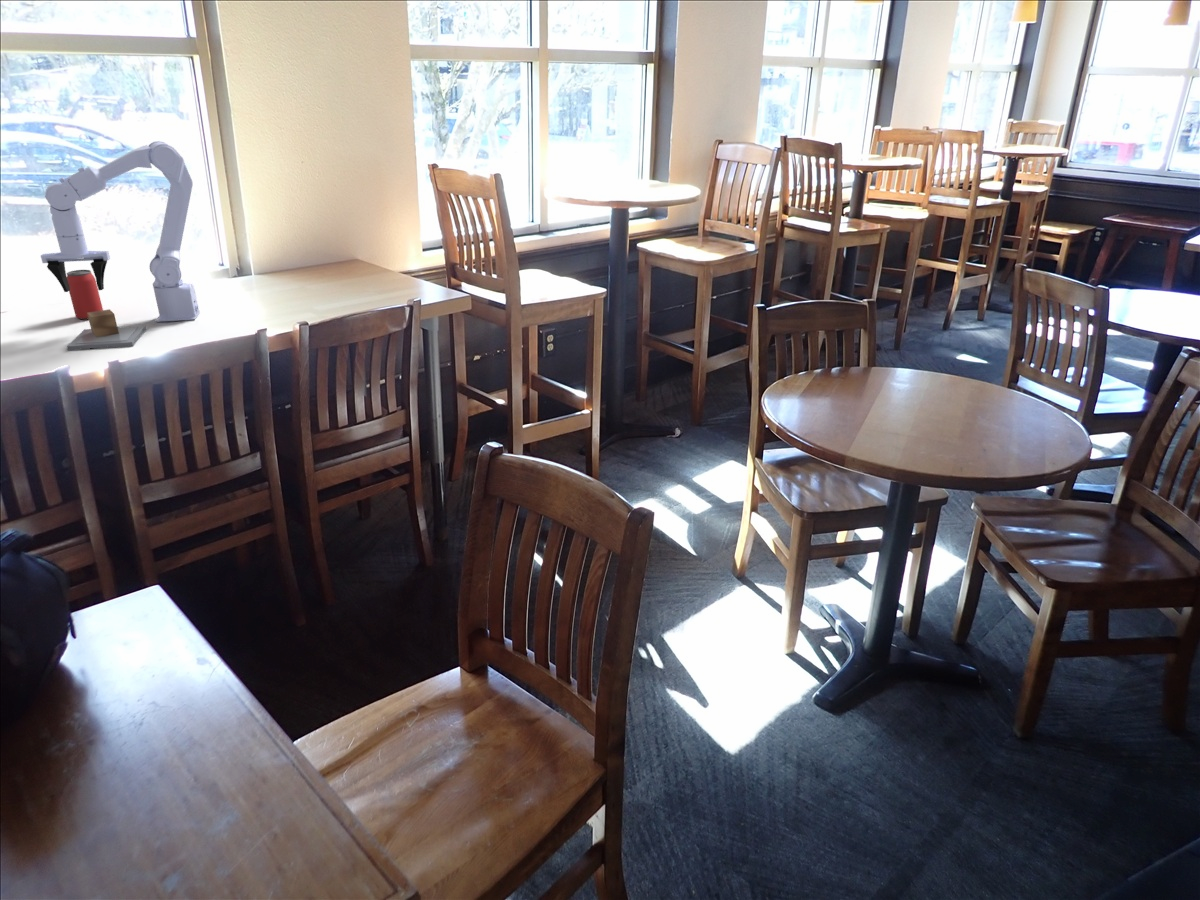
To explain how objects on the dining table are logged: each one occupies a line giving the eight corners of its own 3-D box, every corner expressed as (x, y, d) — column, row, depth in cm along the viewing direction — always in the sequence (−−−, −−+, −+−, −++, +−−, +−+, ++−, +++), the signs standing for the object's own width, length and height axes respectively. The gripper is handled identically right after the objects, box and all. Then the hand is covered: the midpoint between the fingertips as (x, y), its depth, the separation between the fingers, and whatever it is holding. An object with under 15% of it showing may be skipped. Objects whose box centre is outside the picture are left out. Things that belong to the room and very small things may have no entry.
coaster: (146, 329, 212) (145, 325, 212) (133, 346, 200) (132, 341, 200) (85, 333, 209) (84, 329, 209) (68, 350, 197) (66, 345, 196)
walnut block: (114, 328, 209) (109, 309, 207) (119, 333, 206) (114, 313, 203) (92, 332, 206) (86, 312, 204) (96, 337, 203) (91, 317, 201)
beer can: (77, 315, 224) (65, 270, 219) (105, 312, 226) (94, 268, 221) (75, 321, 219) (62, 275, 213) (103, 318, 221) (92, 273, 216)
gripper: (107, 230, 208) (120, 284, 214) (42, 233, 205) (57, 287, 211) (99, 236, 202) (113, 291, 208) (32, 238, 199) (47, 294, 204)
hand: (84, 290), depth 209 cm, fingers open, 7 cm apart
